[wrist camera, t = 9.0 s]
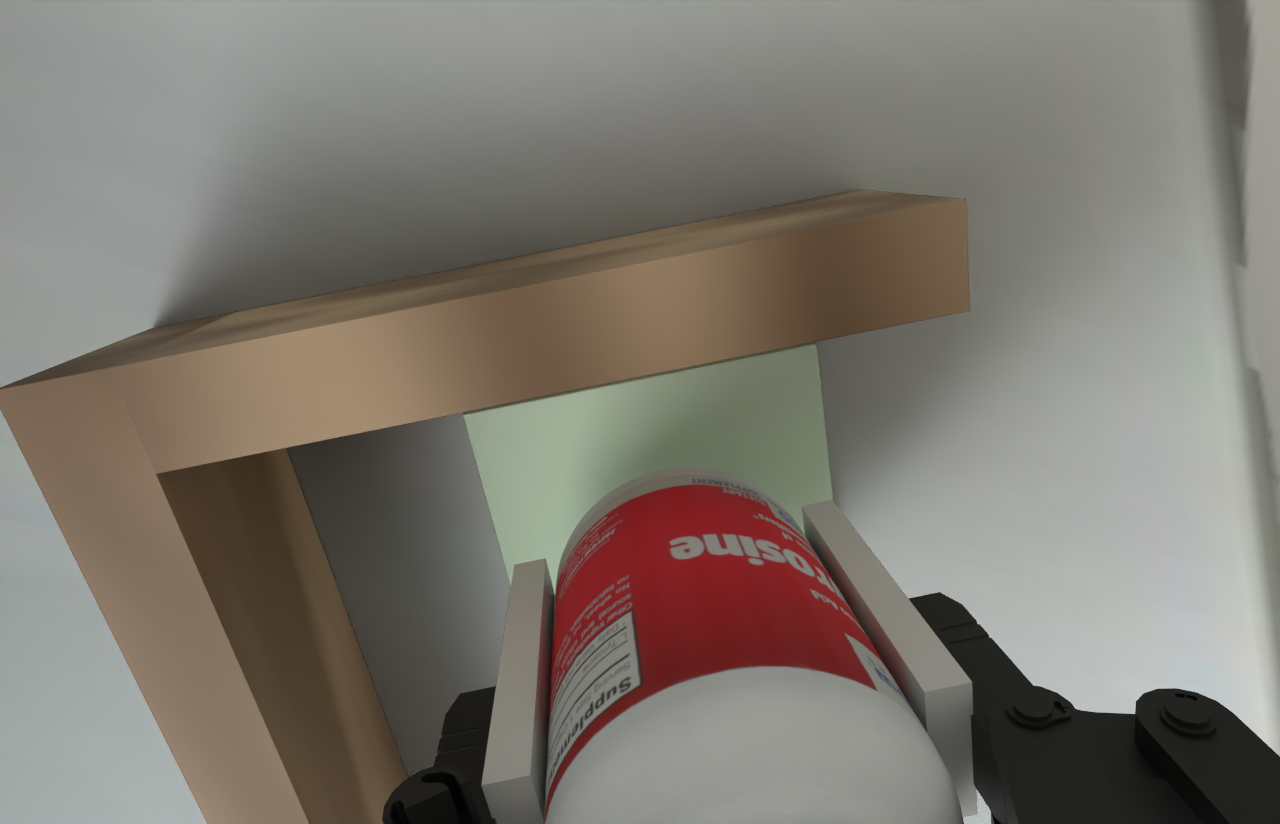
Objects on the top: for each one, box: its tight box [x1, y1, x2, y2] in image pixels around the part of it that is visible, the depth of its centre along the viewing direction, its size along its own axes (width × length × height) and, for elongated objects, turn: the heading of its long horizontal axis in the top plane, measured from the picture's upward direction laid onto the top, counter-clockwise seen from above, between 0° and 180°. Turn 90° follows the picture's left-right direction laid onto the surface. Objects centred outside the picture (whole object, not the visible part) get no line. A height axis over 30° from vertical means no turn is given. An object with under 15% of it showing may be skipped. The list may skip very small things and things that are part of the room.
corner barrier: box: [0, 190, 970, 824], centre depth 19 cm, size 17×22×5 cm
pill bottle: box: [543, 467, 964, 824], centre depth 13 cm, size 6×6×11 cm
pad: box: [463, 343, 833, 593], centre depth 20 cm, size 9×9×1 cm
